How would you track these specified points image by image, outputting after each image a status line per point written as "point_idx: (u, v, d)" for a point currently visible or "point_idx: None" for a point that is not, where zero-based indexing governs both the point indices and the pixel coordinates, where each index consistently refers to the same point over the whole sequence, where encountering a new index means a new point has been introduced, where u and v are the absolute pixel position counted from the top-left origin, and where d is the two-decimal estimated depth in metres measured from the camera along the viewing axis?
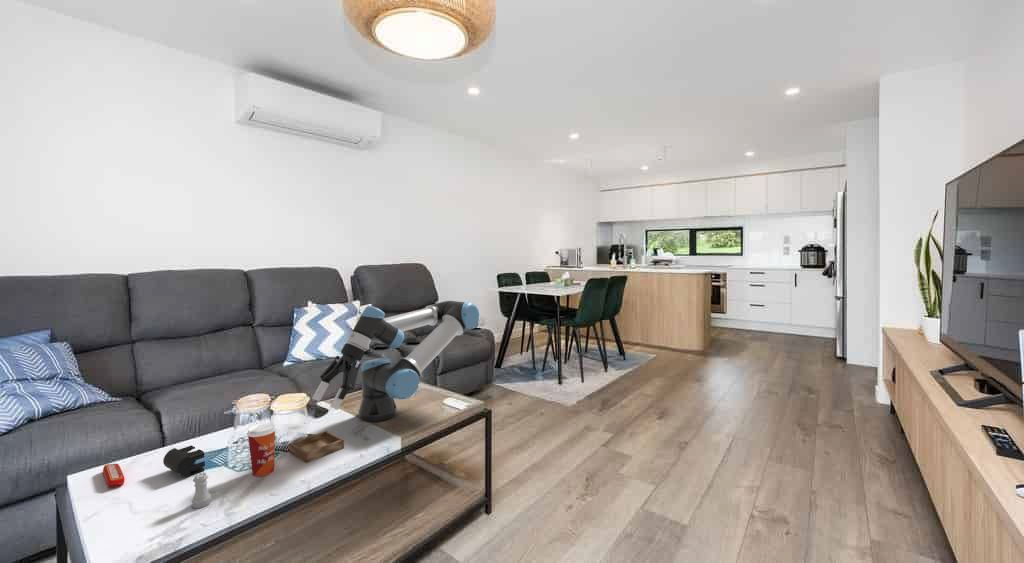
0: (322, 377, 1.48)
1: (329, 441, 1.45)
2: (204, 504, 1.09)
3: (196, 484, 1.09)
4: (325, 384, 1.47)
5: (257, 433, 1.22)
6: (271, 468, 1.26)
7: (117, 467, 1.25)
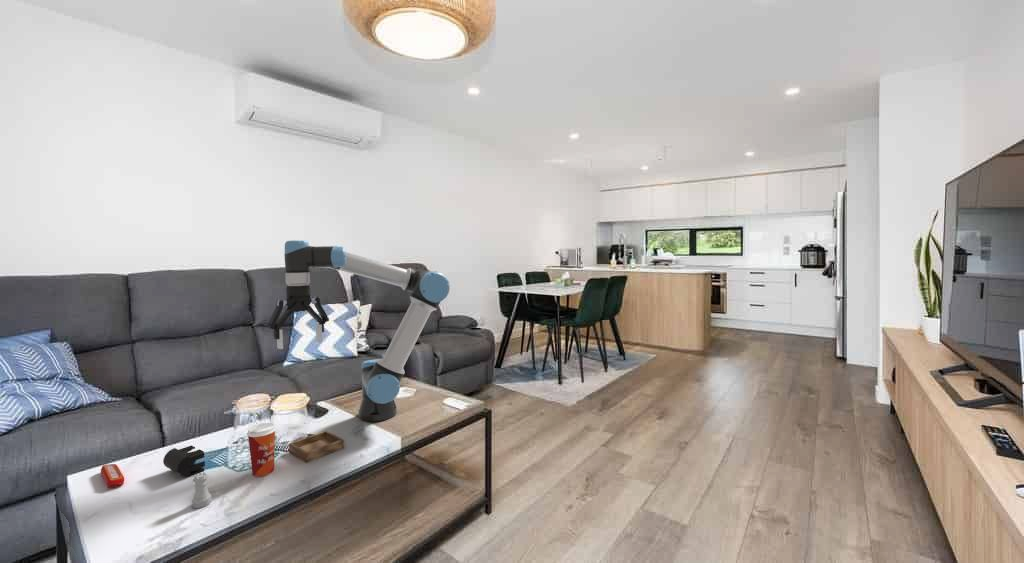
0: None
1: (329, 441, 1.45)
2: (204, 504, 1.09)
3: (196, 484, 1.09)
4: (318, 326, 1.50)
5: (257, 433, 1.22)
6: (271, 468, 1.26)
7: (116, 467, 1.25)
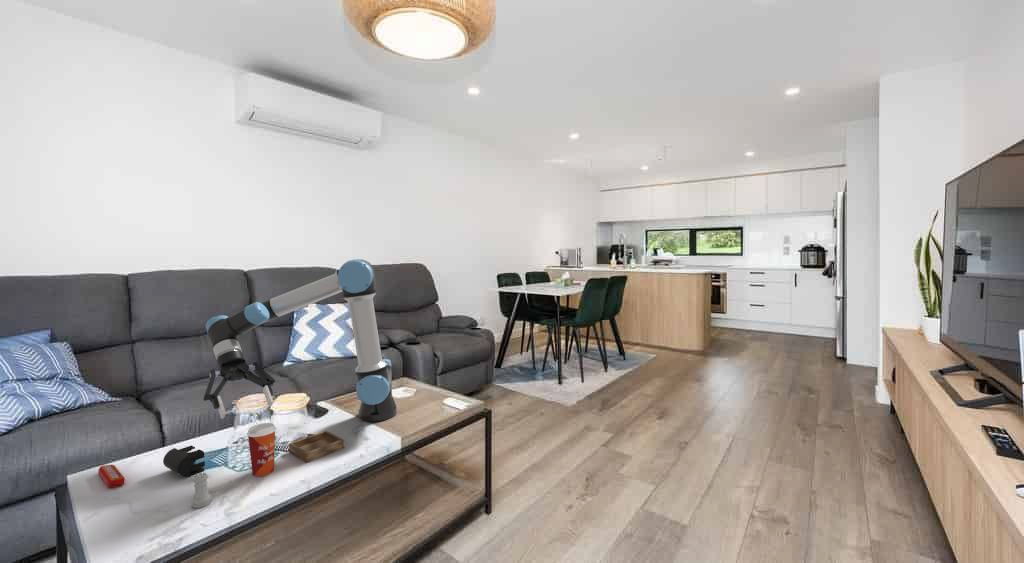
0: None
1: (329, 441, 1.45)
2: (204, 504, 1.09)
3: (196, 484, 1.09)
4: (264, 389, 1.39)
5: (257, 433, 1.22)
6: (271, 468, 1.26)
7: (114, 468, 1.25)
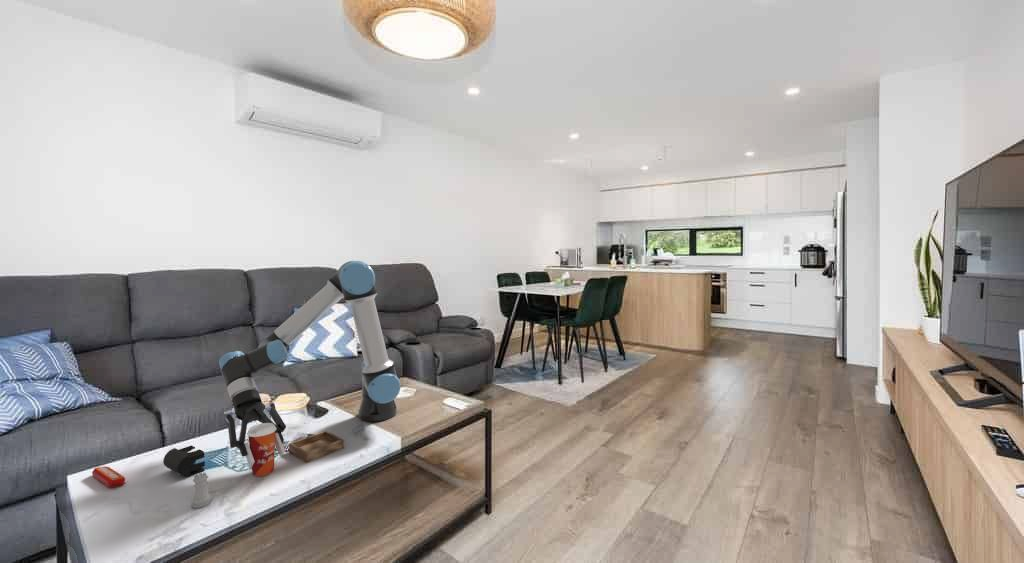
0: None
1: (329, 441, 1.45)
2: (204, 504, 1.09)
3: (196, 484, 1.09)
4: None
5: (257, 433, 1.22)
6: (271, 468, 1.26)
7: (110, 469, 1.24)
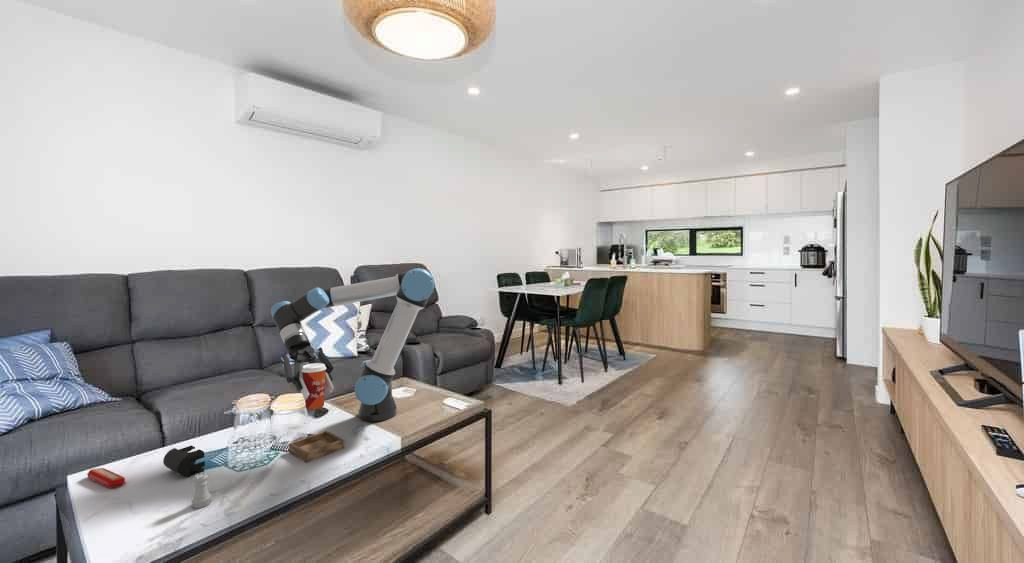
0: None
1: (329, 441, 1.45)
2: (204, 504, 1.09)
3: (196, 484, 1.09)
4: None
5: (311, 369, 1.35)
6: (322, 403, 1.39)
7: (107, 470, 1.24)
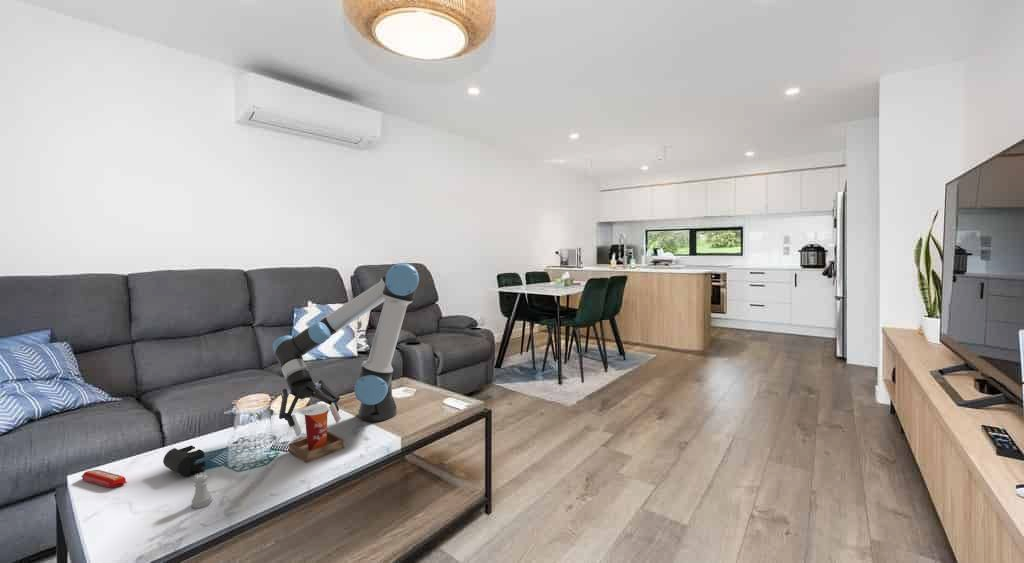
0: None
1: (329, 441, 1.45)
2: (204, 504, 1.09)
3: (196, 484, 1.09)
4: (331, 406, 1.46)
5: (313, 412, 1.37)
6: (324, 444, 1.40)
7: (103, 471, 1.23)
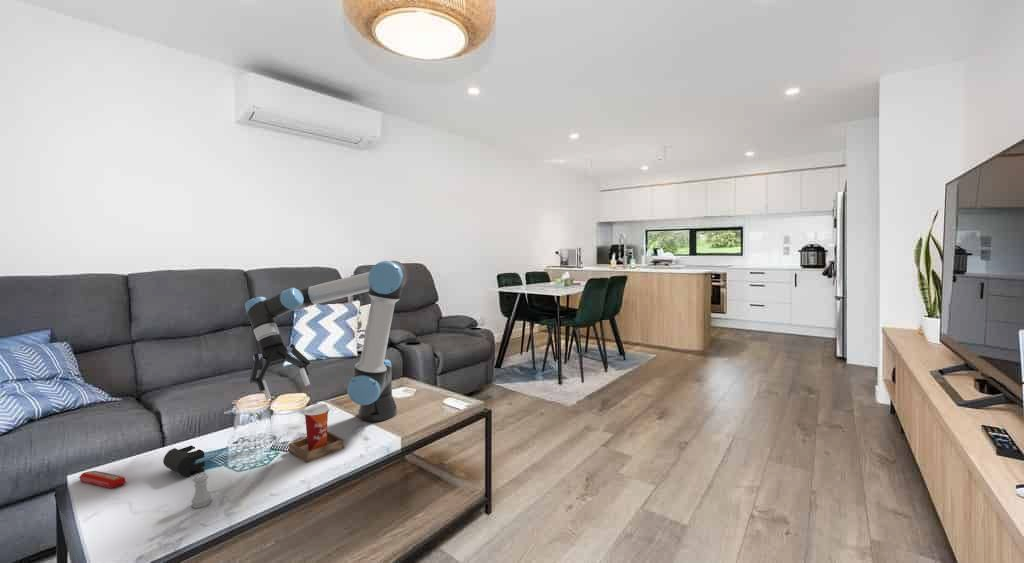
0: None
1: (329, 441, 1.45)
2: (204, 504, 1.09)
3: (196, 484, 1.09)
4: (301, 370, 1.54)
5: (314, 412, 1.37)
6: (324, 444, 1.40)
7: (101, 472, 1.22)
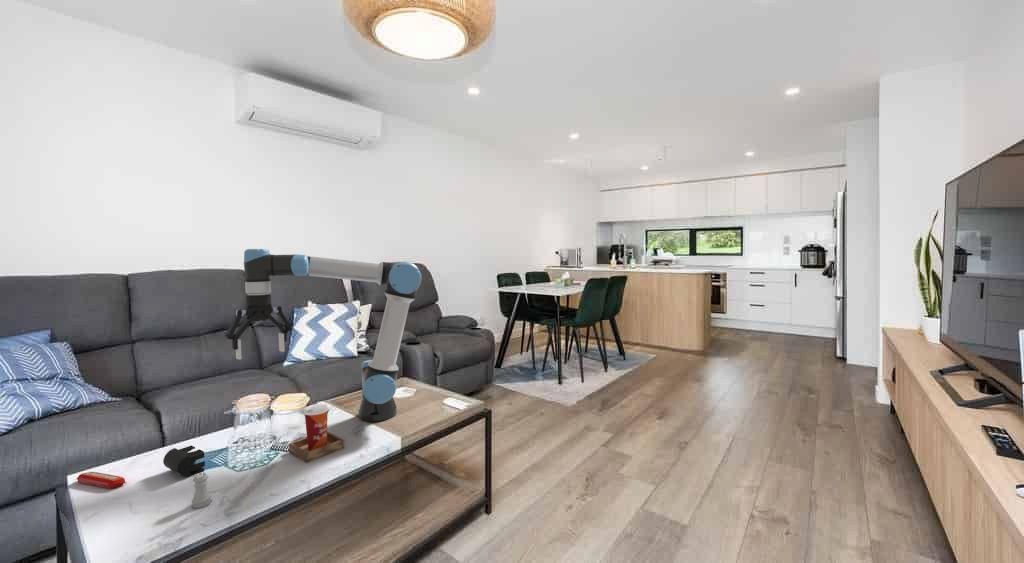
0: None
1: (329, 441, 1.45)
2: (204, 504, 1.09)
3: (196, 484, 1.09)
4: (280, 335, 1.48)
5: (313, 412, 1.37)
6: (324, 444, 1.40)
7: (100, 473, 1.22)
